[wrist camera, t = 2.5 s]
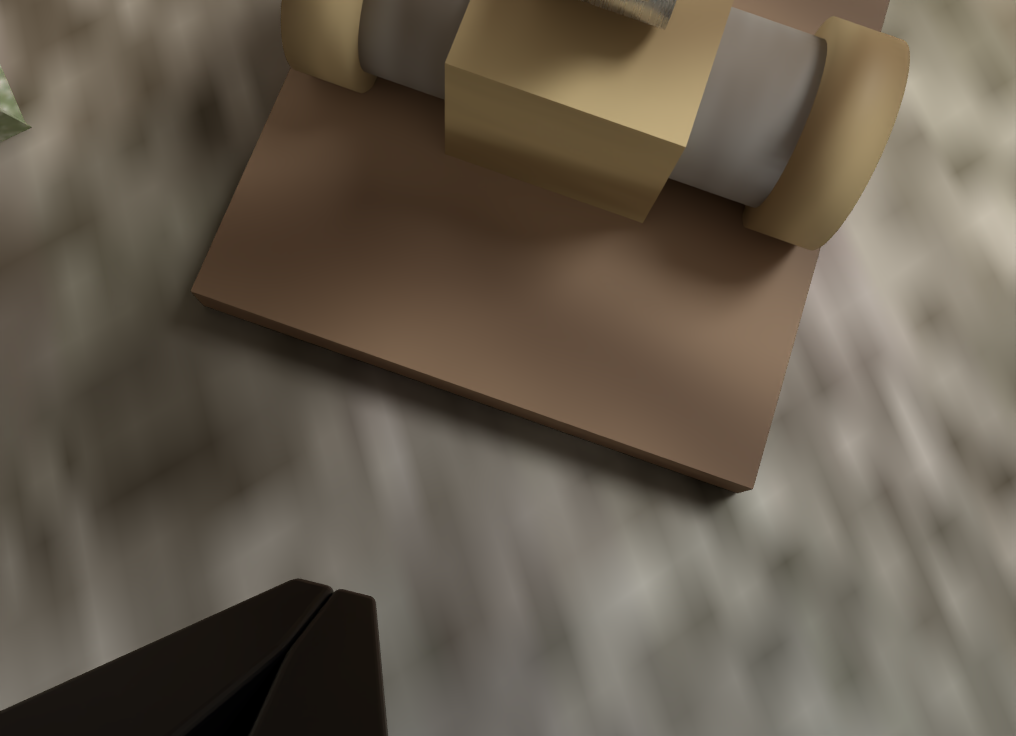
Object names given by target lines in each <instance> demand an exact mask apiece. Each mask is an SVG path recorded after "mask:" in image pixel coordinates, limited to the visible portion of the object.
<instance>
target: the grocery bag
mask: <svg viewBox="0 0 1016 736" xmlns="http://www.w3.org/2000/svg"><path fill="white" fill-rule="evenodd" d="M29 128H31V127H30V126H29V125H27V124H26V123H25V121H24V119H23V117H22V114H21V112H20V110H19V107H18V105H17V103H16V100H15V98H14V96H13V93H12V91H11V89H10V86H9V84H8V82H7V79H6V77H5V75H4V72H3V70H2V68H1V65H0V142H2V141H4V140H6V139H8V138H10V137H12V136H15V135H17V134H19V133H21V132H23V131H25V130H27V129H29Z"/></svg>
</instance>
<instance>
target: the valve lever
mask: <svg viewBox="0 0 1016 736" xmlns="http://www.w3.org/2000/svg"><path fill="white" fill-rule="evenodd" d="M580 1H583V2H586V3H589V4H592V5H595V6H598V7H601V8H603V9H606V10H609V11H612V12H615V13H618V14H621V15H624V16H626V17H629V18H632V19H635V20H638V21H641V22H644V23H647V24H650V25H652V26H655V27H658V28H661V29H664V30H665V29H666V27H667V24H668V22H669V19H670V17H671V14H672V11H673V9H674V6H675V4H676V1H677V0H580Z"/></svg>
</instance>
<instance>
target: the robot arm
mask: <svg viewBox="0 0 1016 736" xmlns="http://www.w3.org/2000/svg"><path fill="white" fill-rule="evenodd" d="M0 736H388V729H387V718H386V707H385V696H384V686H383V675H382V664H381V653H380V642H379V631H378V620H377V609H376V602H375V599H374V598H373V597H371V596H368V595H364V594H360V593H356V592H352V591H348V590H344V589H339V590H336V591H335V592H333V589H332V588H331V587H330V586H328V585H324V584H320V583H316V582H312V581H308V580H303V579H293V580H290V581H288V582H285V583H283V584H281V585H279V586H276V587H274V588H272V589H270V590H268V591H265V592H263V593H261V594H259V595H257V596H254V597H252V598H250V599H248V600H245V601H243V602H241V603H239V604H237V605H234V606H232V607H230V608H228V609H226V610H223V611H221V612H219V613H217V614H214V615H212V616H210V617H208V618H206V619H203V620H201V621H199V622H197V623H195V624H192V625H190V626H188V627H186V628H183V629H181V630H179V631H177V632H175V633H172V634H170V635H168V636H166V637H164V638H161V639H159V640H157V641H155V642H152V643H150V644H148V645H146V646H144V647H141V648H139V649H137V650H135V651H133V652H130V653H128V654H126V655H124V656H121V657H119V658H117V659H115V660H113V661H110V662H108V663H106V664H104V665H102V666H99V667H97V668H95V669H93V670H90V671H88V672H86V673H84V674H82V675H79V676H77V677H75V678H73V679H71V680H68V681H66V682H64V683H62V684H59V685H57V686H55V687H53V688H51V689H48V690H46V691H44V692H42V693H40V694H37V695H35V696H33V697H31V698H28V699H26V700H24V701H22V702H20V703H17V704H15V705H13V706H11V707H9V708H6V709H4V710H2V711H0Z"/></svg>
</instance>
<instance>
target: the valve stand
mask: <svg viewBox="0 0 1016 736" xmlns="http://www.w3.org/2000/svg"><path fill="white" fill-rule="evenodd" d="M889 1H890V0H677V1H676V4H675V6H674V9H673V11H672V14H671V17H670V19H669V22H668V24H667V27H666V29H665V30H664V29H661V28H658V27H655V26H652V25H650V24H647V23H644V22H641V21H638V20H635V19H632V18H629V17H626V16H624V15H621V14H618V13H615V12H612V11H609V10H606V9H603V8H601V7H598V6H595V5H592V4H589V3H586V2H583V1H580V0H282V3H281V37H282V44H283V49H284V53H285V57H286V59H287V62H288V63H289V65H290V66H291V68H290V70H289V72H288V74H287V77H286V79H285V81H284V83H283V85H282V88H281V90H280V92H279V94H278V97H277V99H276V101H275V103H274V106H273V108H272V110H271V112H270V114H269V117H268V119H267V121H266V123H265V126H264V128H263V130H262V132H261V135H260V137H259V139H258V141H257V144H256V146H255V148H254V150H253V152H252V155H251V157H250V159H249V161H248V164H247V166H246V168H245V170H244V173H243V175H242V177H241V179H240V182H239V184H238V186H237V188H236V190H235V193H234V195H233V197H232V199H231V202H230V204H229V206H228V208H227V211H226V213H225V215H224V217H223V220H222V222H221V224H220V226H219V228H218V231H217V233H216V235H215V237H214V240H213V242H212V244H211V246H210V249H209V251H208V253H207V255H206V258H205V260H204V262H203V264H202V266H201V269H200V271H199V273H198V275H197V278H196V280H195V282H194V284H193V287H192V289H191V292H192V293H193V294H194V296H195V297H196V298H197V299H198V300H199V301H200V302H201V303H202V304H203V305H204V306H206V307H209V308H212V309H215V310H218V311H221V312H224V313H226V314H229V315H232V316H235V317H238V318H241V319H243V320H246V321H249V322H252V323H255V324H258V325H260V326H263V327H266V328H269V329H272V330H275V331H277V332H280V333H283V334H286V335H289V336H292V337H295V338H297V339H300V340H303V341H306V342H309V343H312V344H314V345H317V346H320V347H323V348H326V349H329V350H331V351H334V352H337V353H340V354H343V355H346V356H349V357H351V358H354V359H357V360H360V361H363V362H366V363H368V364H371V365H374V366H377V367H380V368H383V369H385V370H388V371H391V372H394V373H397V374H400V375H402V376H405V377H408V378H411V379H414V380H417V381H420V382H422V383H425V384H428V385H431V386H434V387H437V388H439V389H442V390H445V391H448V392H451V393H454V394H456V395H459V396H462V397H465V398H468V399H471V400H473V401H476V402H479V403H482V404H485V405H488V406H491V407H493V408H496V409H499V410H502V411H505V412H508V413H510V414H513V415H516V416H519V417H522V418H525V419H527V420H530V421H533V422H536V423H539V424H542V425H544V426H547V427H550V428H553V429H556V430H559V431H562V432H564V433H567V434H570V435H573V436H576V437H579V438H581V439H584V440H587V441H590V442H593V443H596V444H598V445H601V446H604V447H607V448H610V449H613V450H615V451H618V452H621V453H624V454H627V455H630V456H633V457H635V458H638V459H641V460H644V461H647V462H650V463H652V464H655V465H658V466H661V467H664V468H667V469H669V470H672V471H675V472H678V473H681V474H684V475H686V476H689V477H692V478H695V479H698V480H701V481H704V482H706V483H709V484H712V485H715V486H718V487H721V488H723V489H726V490H729V491H732V492H735V493H740V492H744V491H748V490H751V489H753V487H754V483H755V480H756V476H757V473H758V469H759V466H760V462H761V458H762V455H763V451H764V448H765V444H766V441H767V437H768V433H769V430H770V426H771V423H772V419H773V416H774V412H775V408H776V405H777V401H778V398H779V394H780V391H781V387H782V383H783V380H784V376H785V373H786V369H787V366H788V362H789V358H790V355H791V351H792V348H793V344H794V341H795V337H796V333H797V330H798V326H799V323H800V319H801V316H802V312H803V308H804V305H805V301H806V298H807V294H808V291H809V287H810V283H811V280H812V276H813V273H814V269H815V266H816V262H817V258H818V255H819V251H820V248H821V246H823V245H824V244H825V243H826V242H827V241H828V240H829V239H830V238H831V237H832V236H833V235H834V234H835V233H836V232H837V231H838V229H839V228H840V227H841V225H842V224H843V223H844V221H845V220H846V218H847V217H848V215H849V214H850V212H851V211H852V209H853V208H854V206H855V204H856V203H857V201H858V200H859V198H860V196H861V194H862V193H863V191H864V189H865V187H866V185H867V184H868V182H869V180H870V178H871V176H872V174H873V172H874V170H875V168H876V166H877V164H878V161H879V159H880V157H881V155H882V153H883V150H884V148H885V146H886V143H887V141H888V139H889V136H890V133H891V131H892V128H893V126H894V123H895V120H896V117H897V114H898V111H899V108H900V105H901V102H902V98H903V95H904V91H905V87H906V83H907V78H908V72H909V63H910V51H909V47H908V44H907V43H906V42H905V41H904V40H902V39H899V38H896V37H893V36H890V35H887V34H884V33H881V30H882V26H883V23H884V19H885V15H886V12H887V8H888V5H889Z"/></svg>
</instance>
